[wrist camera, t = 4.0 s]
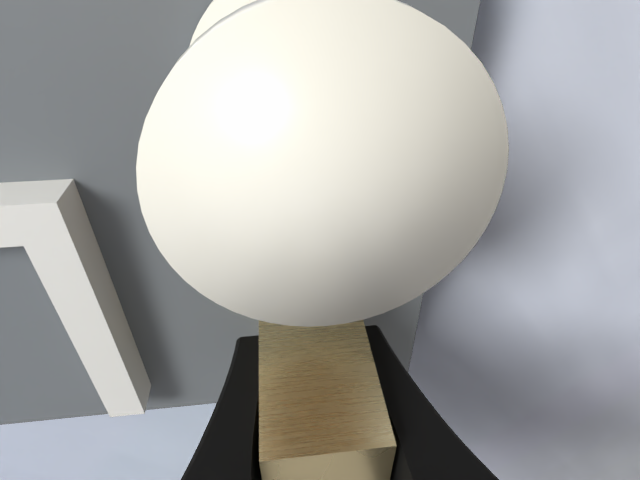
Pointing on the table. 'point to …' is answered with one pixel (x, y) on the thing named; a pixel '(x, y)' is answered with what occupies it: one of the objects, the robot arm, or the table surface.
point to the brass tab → (321, 405)
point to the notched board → (109, 217)
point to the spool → (320, 158)
